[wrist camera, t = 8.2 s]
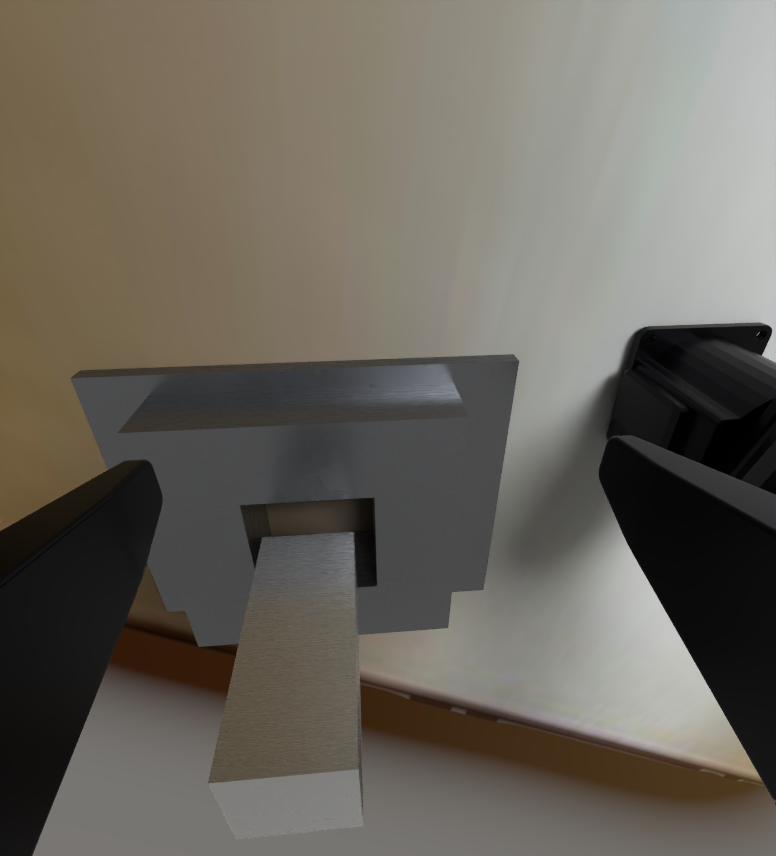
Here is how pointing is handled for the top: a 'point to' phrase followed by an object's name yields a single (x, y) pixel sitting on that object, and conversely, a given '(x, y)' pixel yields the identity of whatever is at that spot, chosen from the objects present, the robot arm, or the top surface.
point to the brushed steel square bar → (294, 695)
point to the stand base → (314, 473)
